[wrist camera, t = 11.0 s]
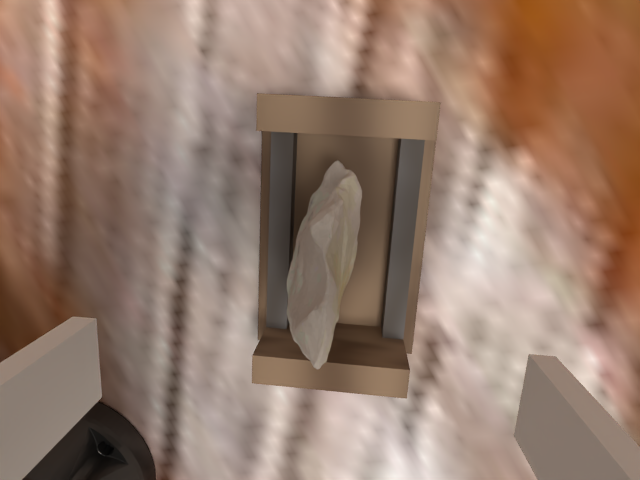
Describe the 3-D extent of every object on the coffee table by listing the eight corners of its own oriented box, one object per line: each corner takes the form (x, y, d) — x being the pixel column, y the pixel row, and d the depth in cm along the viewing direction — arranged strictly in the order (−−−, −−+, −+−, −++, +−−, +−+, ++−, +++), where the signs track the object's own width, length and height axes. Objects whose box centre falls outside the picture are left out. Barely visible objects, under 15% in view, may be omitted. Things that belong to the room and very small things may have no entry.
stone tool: (318, 152, 30) (271, 166, 16) (369, 158, 30) (369, 179, 15) (301, 297, 33) (248, 425, 18) (348, 305, 33) (331, 439, 18)
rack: (261, 332, 35) (237, 381, 28) (266, 102, 31) (239, 92, 24) (409, 346, 34) (422, 400, 27) (436, 110, 30) (459, 103, 23)
